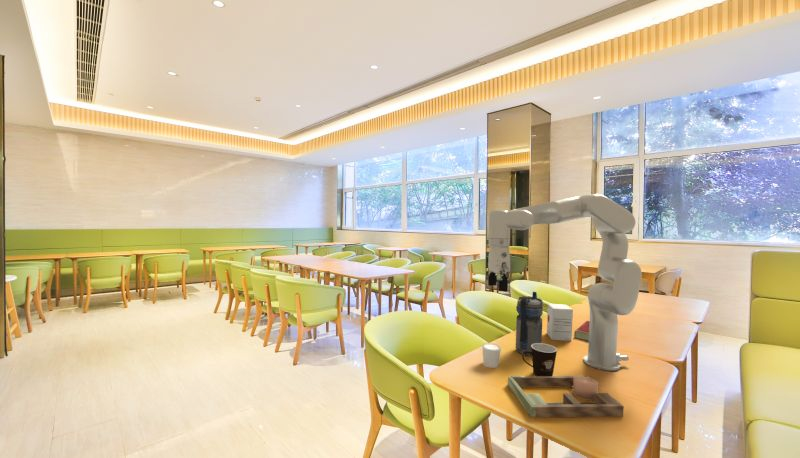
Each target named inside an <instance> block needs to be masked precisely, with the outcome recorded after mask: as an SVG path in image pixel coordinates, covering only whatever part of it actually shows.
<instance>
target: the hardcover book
mask: <svg viewBox="0 0 800 458" xmlns="http://www.w3.org/2000/svg"><path fill="white" fill-rule="evenodd" d="M589 323H590V320H585V322H584V323H582V324H581V325H580V326H579V327H578V328H576V329H575V330H574V334H573V335H574V338H575V339H576V338H577V339H579V340H584V341H588V342H589Z"/></svg>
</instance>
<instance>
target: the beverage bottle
mask: <svg viewBox="0 0 800 458" xmlns="http://www.w3.org/2000/svg"><path fill="white" fill-rule="evenodd" d="M543 303H544V301H543V299H542V298H539V297H538V294H537V291H532V296H531V295H529V296H525V295H524V296H519V297H518V300H517V303H516V309H515V310H516V312H517V313H518V314H517V315H516V322H515V323H516V325H515V350H516V351H517V352H518V353H519V354H522V355H523V353H524V352H526V351H529V352H532V350H531V345H532V344H535V343H542V341H543V340H542V338H543V318H542V315H543V312H544V304H543ZM524 356H528V357H529V356H530V357H532V355H531V354H530V353H526V354H525V355H524Z"/></svg>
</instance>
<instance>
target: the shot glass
mask: <svg viewBox="0 0 800 458" xmlns="http://www.w3.org/2000/svg"><path fill="white" fill-rule="evenodd" d="M481 348H482V349H481V350H482V358H483V359H482V363H483V365H484V366H485V367H487V368H494V369H495V368H498V367H499V365H500V356H501V349H502V347H501V346H500V345H498V344H494V343H484V344H483V345H482V347H481Z"/></svg>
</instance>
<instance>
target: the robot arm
mask: <svg viewBox="0 0 800 458" xmlns="http://www.w3.org/2000/svg"><path fill="white" fill-rule="evenodd" d="M583 218H592V219H591V222H592V226H593V227H594V228H595V230H596V231H597V232H598V234H599V236H600V237H601V239H602V246H601V253H600V255H599V256H600V257H599V262H598V266H597V274H598V276H599V277H600V278H601V279H603V280H604V281H608V282H611V283H613V285H611V284H609V283H603V282H599V283H594V284H593V285H591V286H590V287H589V288H588V289H589V290H588V293H587V300H588V301H587V302H588V306H589V321H590V323H589V341H588V347H587V349H588V350H587V354H586V355H584V356H583V362H584V363H585V364H586V365H588V366H589V367H592V368H594V369H598V370H602V371H609V372H610V371H611V372H612V371H614V372H615V371H620V370H621V368H622V367H621V366H622V365H621V363H620V362H621V361H629V356H628V355H623V354H622V355H621V353H618V352H617V350H618V347H617V346H618V331H619V330H618V327H619V319H618V316H627V315H630V314H631V313H632V312H634V311H633V310H634V309H635V308H636V305H637V302H638V298H639V294H640V288H641V284H642V281H643V280H642V279H643V272H642V269H641V266H640V265H639V264H638V263H637V262H636V261H635V260H631V259H628V250H629V240H628V237H627V235H626V234H628V233H630V232H632V230H634V229H635V226H636V218H635V215H633V213H632V212H631V211H630V210H628V209H627V208H625V207H623V206H621V204H618V203H617V202H616V201H614V200H612V199H611V198H609V197H607V196H605V195H602V194H599V193H593V194H592V193H591V194H581V195H576V196H572V197H566V198H562V199H557V200H553V201H547V202H544V203H543V202H542V203H540V204H535V205H530V206H524V207H520V208H514V209H511V210H507V209H493V210H490V212H489V215H488V245H487V246H488V247H489V251H488V262H487V270H488V272H487V275H488V277H487V278H488V279H487V280H488V283H487V285H488V286H497V280H498V292H507V291H508V287H509V286H508V285H509V284H508V283H509V278H510V273H511V253H510V234H511V232H510V230H516V231H517V230H518V231H525V230H528V229H530V228H531V227H532V226H533V225H541V224H542V225H549V224H550V225H551V224H553V225H554V224H560V223H563V222H569V221H573V220H579V219H583ZM497 275H498V276H499V277H498V276H497ZM497 277H498V278H499V279H497Z"/></svg>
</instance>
